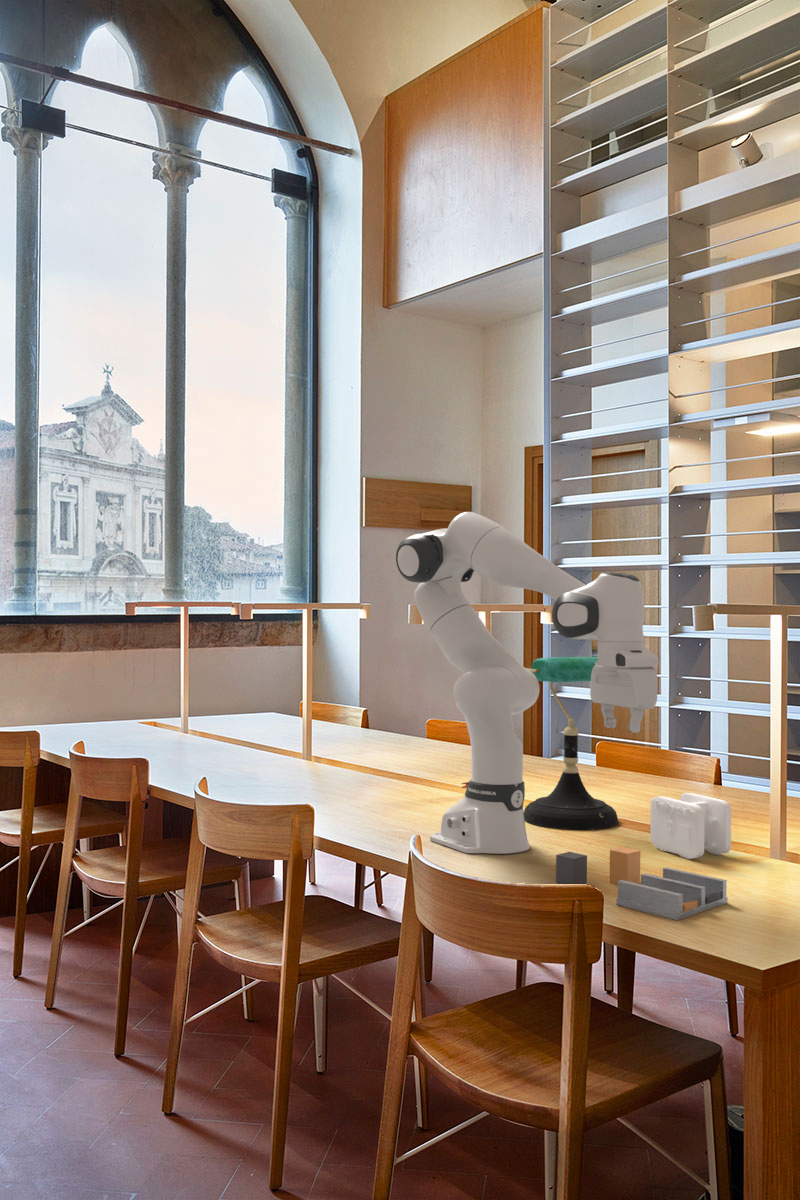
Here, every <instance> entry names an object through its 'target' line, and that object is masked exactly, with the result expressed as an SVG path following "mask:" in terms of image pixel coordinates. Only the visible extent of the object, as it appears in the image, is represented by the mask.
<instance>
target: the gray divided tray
mask: <svg viewBox="0 0 800 1200" xmlns="http://www.w3.org/2000/svg"><path fill="white" fill-rule="evenodd" d="M728 897H729V896H727V879H723V878H717V877H714V876H708V875H703V874H699V873H695V872H690V871H685V870H681V869H676V868H672V867H667V866H666V867H663V868H662V876H658V875H655V874H654V875H653V874H650V873H649V874H648V873H642V874H641V873H640V883H633V882H628V881H624V880H620V881H618V884H617V898H616V903H615V904H616V906H619V905H620V907H623V908H628V909H632V910H636V911H639V912H644V913H646V914H650V915H654V916H657V917H658V916H660V917H662V918H667V919H670V920H674V921H680V920H683V919H685V918H688V917H691V916H694V915H697V914H699V913H703V912H705V911H708V910H710V909H714V908H717V907H720V906H723V905H725V904H728Z"/></svg>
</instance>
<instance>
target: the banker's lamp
mask: <svg viewBox="0 0 800 1200" xmlns="http://www.w3.org/2000/svg"><path fill="white" fill-rule="evenodd" d="M597 660H598V656H572V657H571V656H570V657H569V656H567V657H566V656H565V657H563V656H562V657H553V656H552V657H540V658H539V657H538V658H537V659H536V658H535V660H533V661H532V664H531V667H525V668H526V669H528V670H530V671H531V672H532V673H533V674H534V675H535V676H536V678H537V680H538V682H547V683H548V682H549V683H548V687H549V691H550V693H551V694H552V696H553V698H554V699H555V700H556V702H557V704H558V705H559V707H560V709H561V710H562V711H563V714H564V715H565V717H566V719H567V720H568V721H567V724H568V725H567V726H566V727H565V728H564V730H563V736H564V737H563V738H564V739H563V745H564V746H563V759H562V760H563V763H564V764H565V765H564V767H562V768H563V769H562V773H561V776H560V777H559V780H558V782H557V784H556V786H555V787H554V789H553V791H551V793H550V794H548V795H547V796H541V797H539V798H536V799H535V800H533V801H531V802H530V803H528V804H527V805H526V806H525V808H524V809H523V811H524V820H525V822H527V823H528V824H532V825H534V826H537V827H543V828H548V829H557V830H569V831H570V830H571V831H572V830H573V831H591V830H592V829H593V831H594V830H602V829H609V828H611V827H614V826H616V825H617V824H618V823H619V819H618V814H617V812H616V810H615V809H614V808H613V806H611V805H609V804H607V803H606V802H605V801H604V800H602V799H598V798H594V797H593V796H592V795H591V794H590V793H589V792H588V790H587V789H586V787H585V785H584V783H583V781H582V777H581V776H580V772H579V768H578V766H577V764H578V762H579V756H578V755H579V754H578V747H579V745H578V744H579V741H578V739H579V730H578V728H577V727H575V725H574V724H575V720H574V718H572V717H571V715H570V714H569V713H568V711H567V709H566V708H565V706H564V705H563V703H562V701H561V699H560V697H558V695H557V694H556V692H555V690H554V688H553V684H554V683H573V682H574V683H576V682H577V683H578V682H579V683H580V682H591V674H592V669H593V667H594V666H595V663H596V662H597Z"/></svg>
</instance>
